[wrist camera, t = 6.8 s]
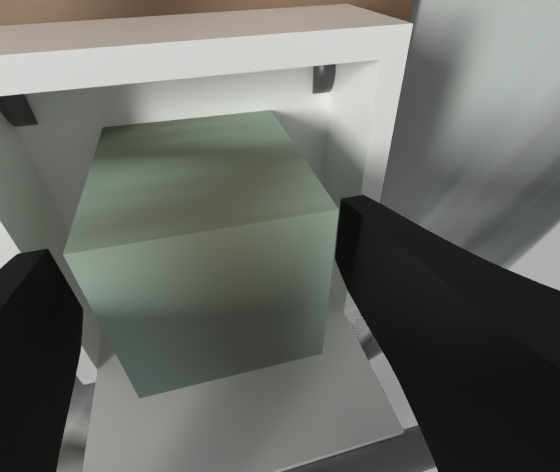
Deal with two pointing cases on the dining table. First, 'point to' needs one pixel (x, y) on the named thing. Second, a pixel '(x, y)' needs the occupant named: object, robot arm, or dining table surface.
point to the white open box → (202, 103)
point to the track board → (166, 8)
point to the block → (203, 248)
